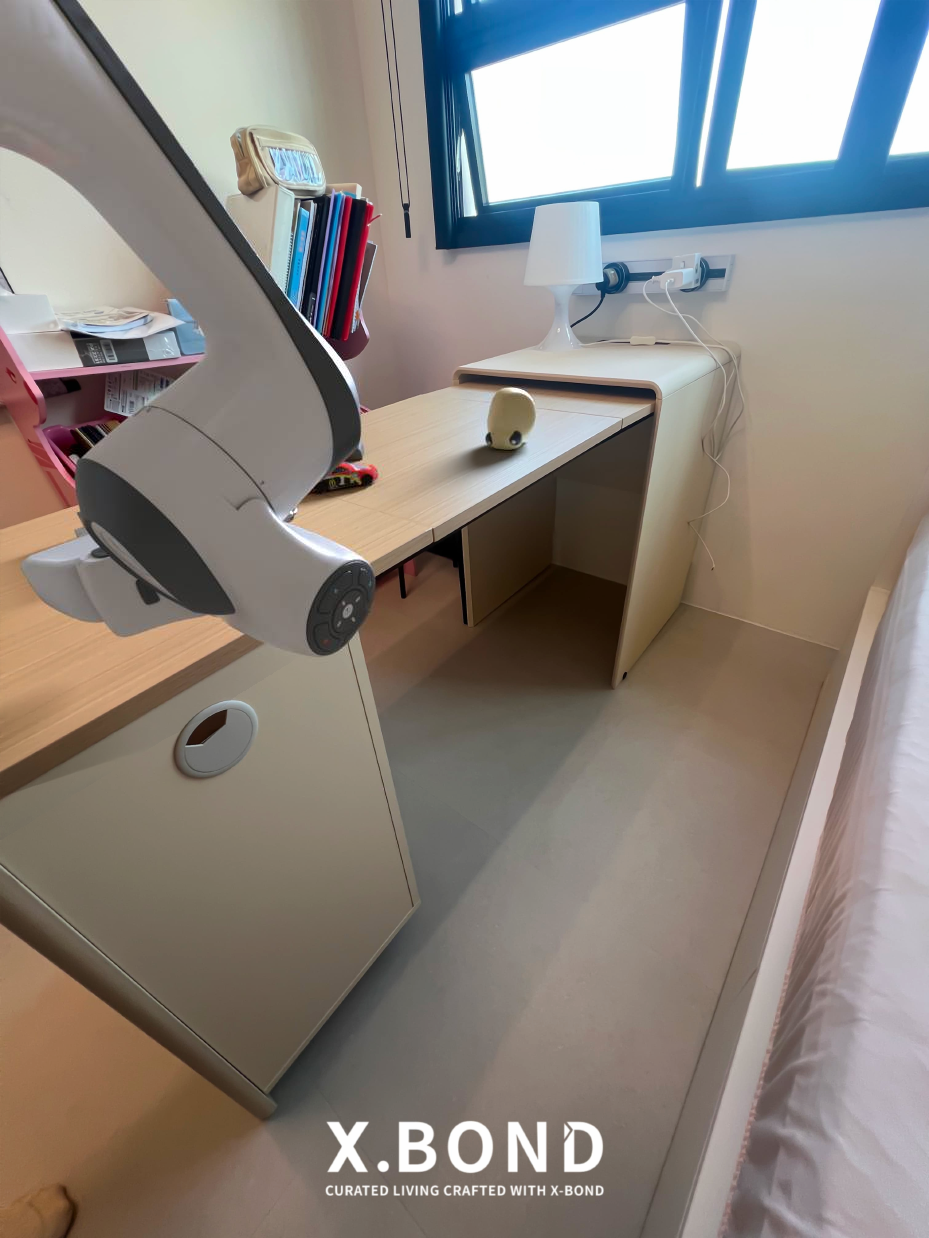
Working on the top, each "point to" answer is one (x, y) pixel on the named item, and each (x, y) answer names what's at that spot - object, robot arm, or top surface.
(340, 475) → the race car
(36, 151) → the robot arm
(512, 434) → the yellow toy head
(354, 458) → the usb drive
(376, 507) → the top surface
